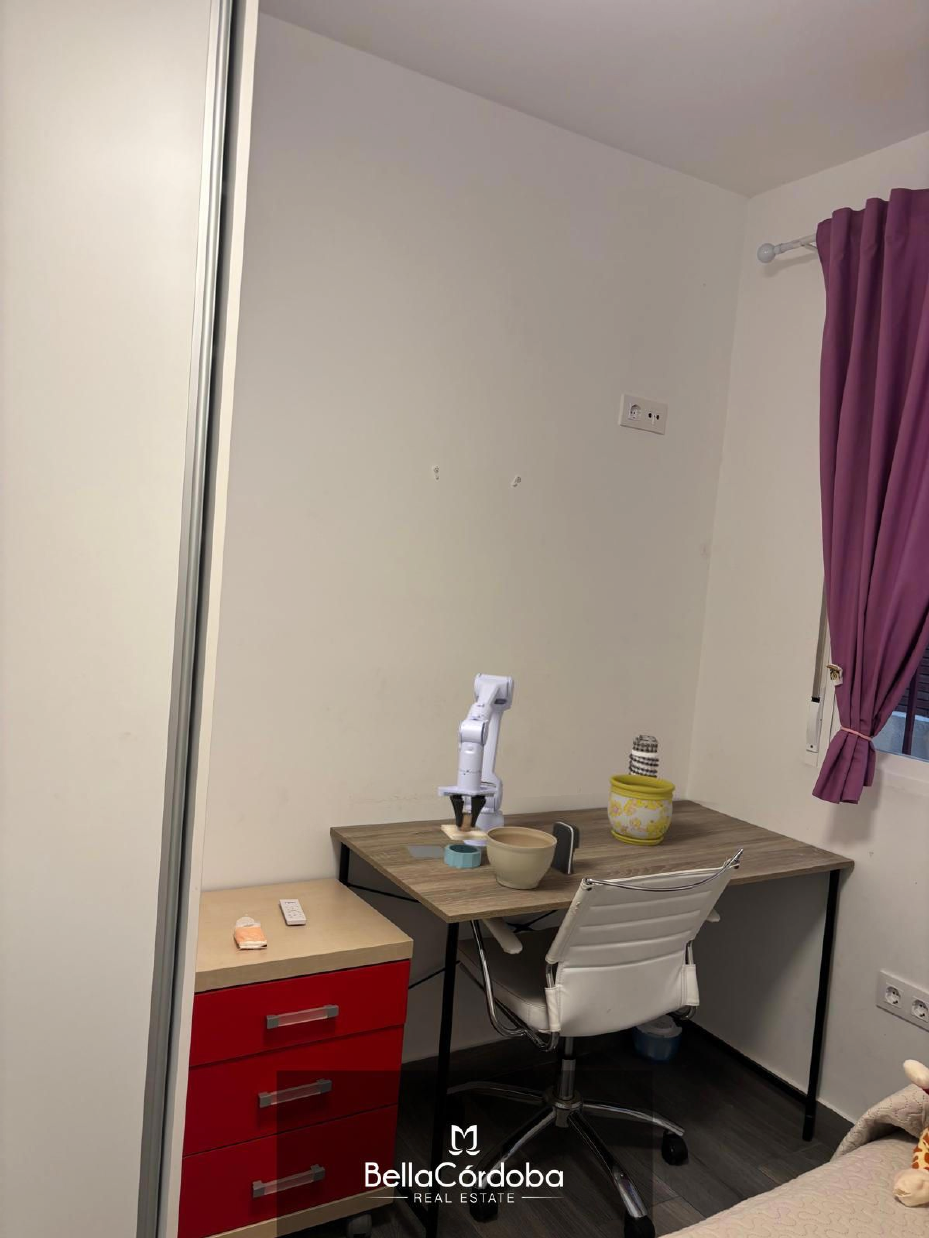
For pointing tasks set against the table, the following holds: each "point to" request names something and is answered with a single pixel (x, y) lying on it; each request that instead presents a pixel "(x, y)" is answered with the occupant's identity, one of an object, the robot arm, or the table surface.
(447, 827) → the lid
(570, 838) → the battery charger
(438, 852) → the mat
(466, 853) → the bowl
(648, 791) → the flowerpot
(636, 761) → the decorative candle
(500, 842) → the planter bowl
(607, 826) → the table surface
